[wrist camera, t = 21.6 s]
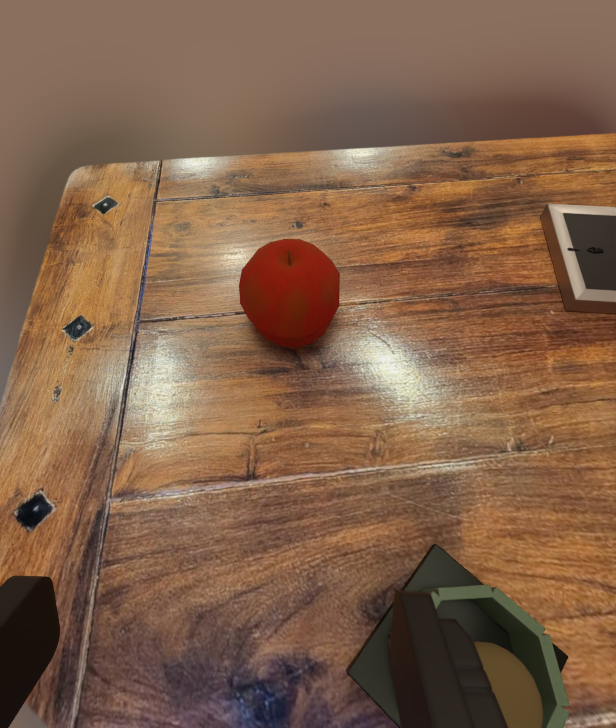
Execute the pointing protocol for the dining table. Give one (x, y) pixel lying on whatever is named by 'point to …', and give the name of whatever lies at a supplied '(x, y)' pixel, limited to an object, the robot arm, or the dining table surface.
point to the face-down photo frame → (583, 255)
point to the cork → (511, 686)
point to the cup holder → (481, 622)
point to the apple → (290, 292)
